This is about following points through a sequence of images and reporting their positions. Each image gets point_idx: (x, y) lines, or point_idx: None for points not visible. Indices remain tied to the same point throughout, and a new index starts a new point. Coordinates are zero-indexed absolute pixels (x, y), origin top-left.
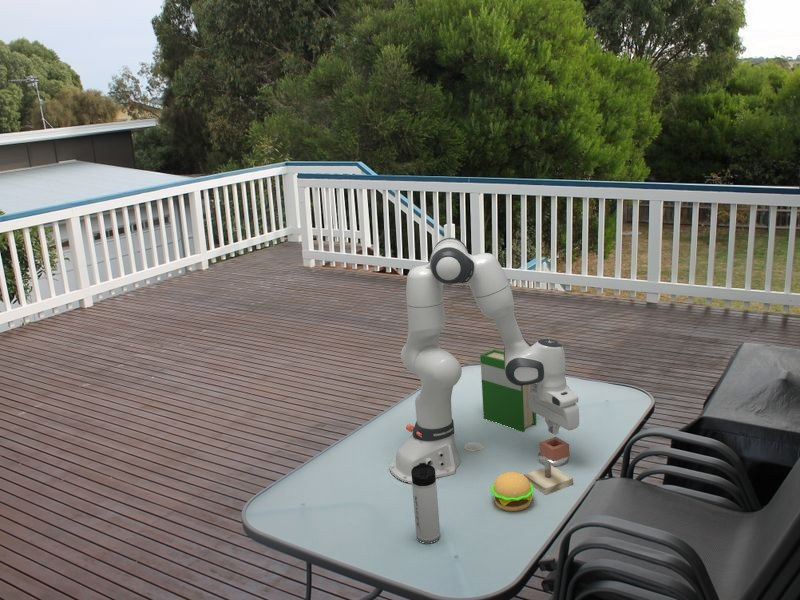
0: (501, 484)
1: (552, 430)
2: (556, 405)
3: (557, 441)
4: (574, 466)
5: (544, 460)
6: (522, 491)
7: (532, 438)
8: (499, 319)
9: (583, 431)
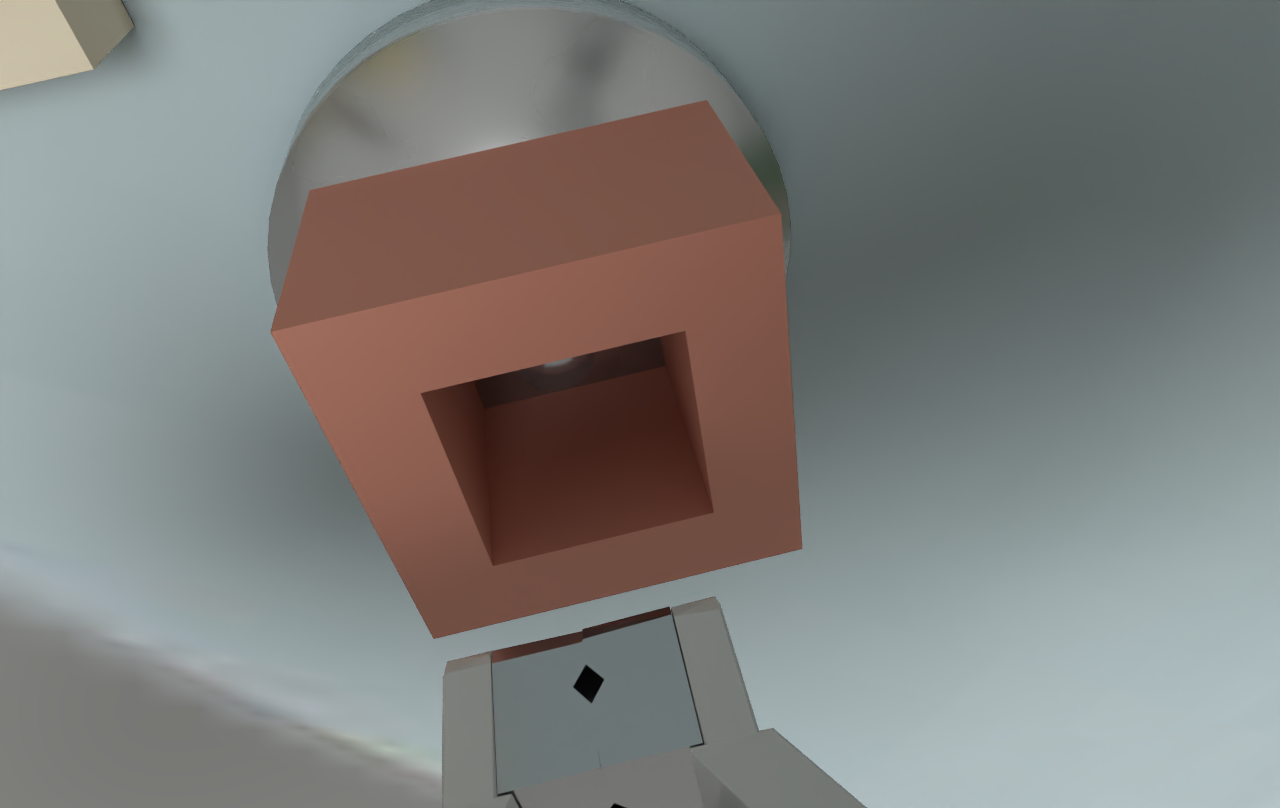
0: None
1: (522, 741)
2: None
3: (641, 519)
4: (233, 422)
5: (414, 58)
6: None
7: (1263, 243)
8: None
9: (954, 702)
